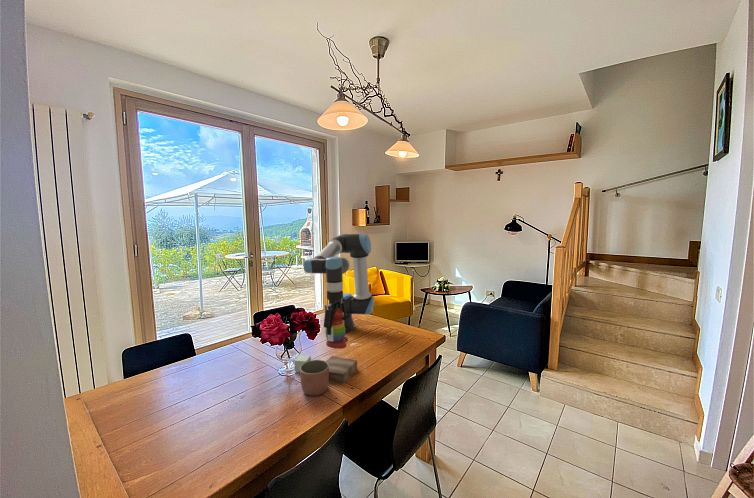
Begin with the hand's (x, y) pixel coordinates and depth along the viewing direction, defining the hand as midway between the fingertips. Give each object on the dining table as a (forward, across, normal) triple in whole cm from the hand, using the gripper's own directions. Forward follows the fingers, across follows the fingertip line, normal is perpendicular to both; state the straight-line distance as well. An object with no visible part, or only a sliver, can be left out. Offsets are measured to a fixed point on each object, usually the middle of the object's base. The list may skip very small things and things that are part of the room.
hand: (336, 336), depth 144 cm
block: (+19, +3, -18) cm, 26 cm away
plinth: (+19, 0, 0) cm, 19 cm away
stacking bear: (+4, 0, 0) cm, 4 cm away
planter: (+19, +15, -2) cm, 24 cm away
